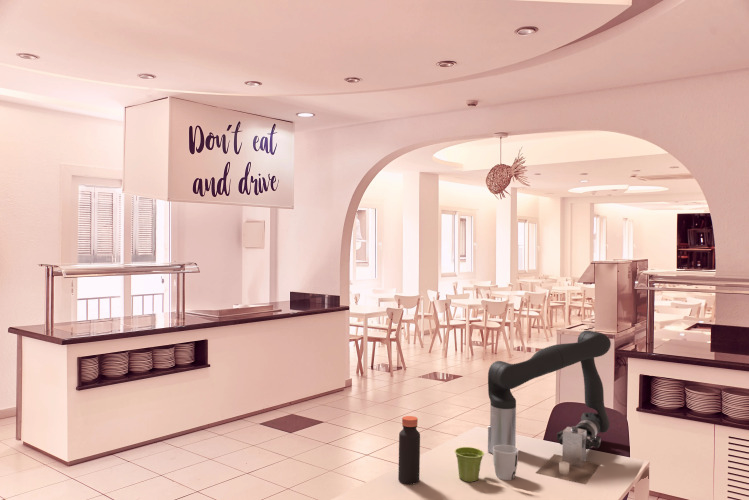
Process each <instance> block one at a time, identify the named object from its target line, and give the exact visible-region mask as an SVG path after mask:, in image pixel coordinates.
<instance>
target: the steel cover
mask: <svg viewBox="0 0 749 500" xmlns="http://www.w3.org/2000/svg"><path fill="white" fill-rule="evenodd" d="M563 430H564V431H563V445H562V456H563V457H562V461H565V462H568V463H569V464H570V465H575V466H580V467H582V466H583V464H584V463H585V462H586V461H587V450H586V449H585V443H586V430H584V429H578V427H576V425H573V426H566V428H564V429H563Z"/></svg>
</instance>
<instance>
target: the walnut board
mask: <svg viewBox="0 0 749 500" xmlns="http://www.w3.org/2000/svg"><path fill="white" fill-rule="evenodd" d="M562 457H563V455H560V454H555V453H554V454H553V455H552V456H551V457H550V458H549V459H548V460H547V461H545V463H544V464H542V465H541V467H540V468H538V470H536V471H535V474H538V475H542V476H547V477H551V478H555V479H560V480H565V481H568V482H572V483H578V484H582V485H586V484H587V483H588V482H589V481H590V479H591V478H592V477H593V476H594V474H595V472H596V471H597V470H598V468H599V467H600V466H601V463H599V462H594V461H589V460H586V462H585V463H584V464H583V466H582V467H580V466H575V465H570V464H569V475H567V476H565V475H561V474H559V462H560V461H562Z"/></svg>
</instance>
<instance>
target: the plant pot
mask: <svg viewBox="0 0 749 500" xmlns="http://www.w3.org/2000/svg"><path fill="white" fill-rule="evenodd" d="M454 453H455V455H456V456H455V457H456V459H457V468H458V469H457V470H458V476H459V479H460V480H462V481H464V482H467V483H468V482H469V483H472V482H474V481H475V482H477V481H478V480H479V477H480V469H481V464H482V460H483V457H484V456H485V452H484V451H483V450H481V449H480V448H476V447H472V446H471V447H470V446H464V447H463V446H462V447H461V446H460V447H457V448H455V450H454Z"/></svg>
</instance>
